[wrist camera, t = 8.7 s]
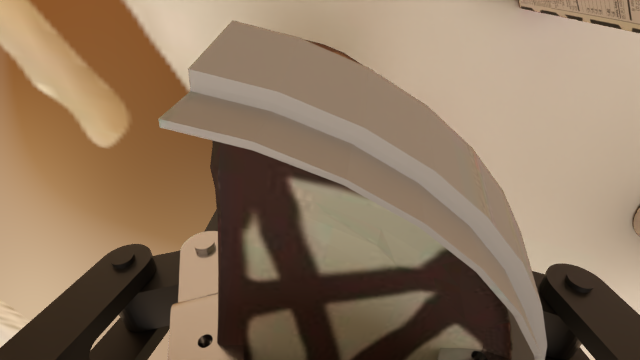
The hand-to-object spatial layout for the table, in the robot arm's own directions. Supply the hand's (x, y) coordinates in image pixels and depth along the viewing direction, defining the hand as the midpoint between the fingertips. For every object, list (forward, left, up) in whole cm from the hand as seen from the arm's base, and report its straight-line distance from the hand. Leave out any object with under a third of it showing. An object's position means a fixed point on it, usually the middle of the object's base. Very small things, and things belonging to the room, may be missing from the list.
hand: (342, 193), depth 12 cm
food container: (-1, 0, -2) cm, 2 cm away
